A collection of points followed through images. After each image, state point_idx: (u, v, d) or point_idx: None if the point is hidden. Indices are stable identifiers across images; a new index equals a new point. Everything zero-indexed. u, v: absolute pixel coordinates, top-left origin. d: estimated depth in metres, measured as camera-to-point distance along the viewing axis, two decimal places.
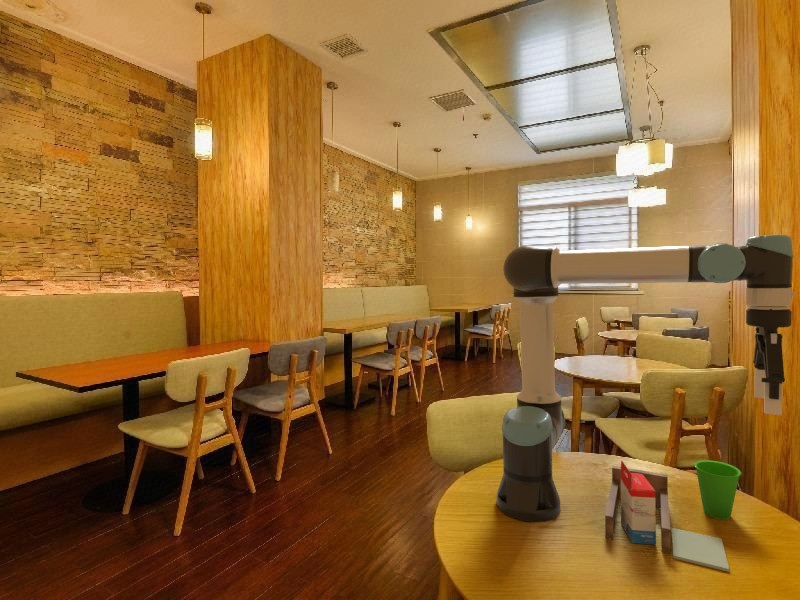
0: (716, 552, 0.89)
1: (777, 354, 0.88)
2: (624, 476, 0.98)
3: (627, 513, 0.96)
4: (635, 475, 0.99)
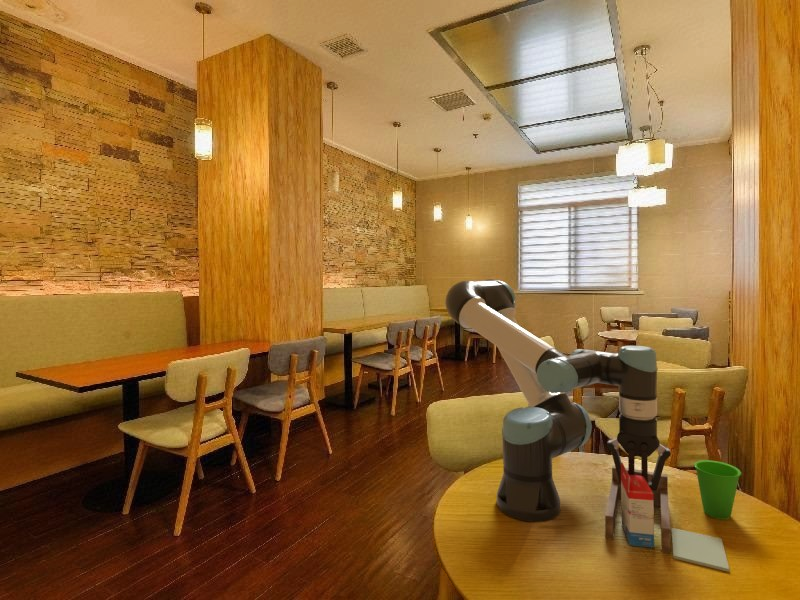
0: (716, 552, 0.89)
1: (614, 460, 1.02)
2: (623, 478, 0.97)
3: (625, 515, 0.95)
4: (635, 477, 0.98)
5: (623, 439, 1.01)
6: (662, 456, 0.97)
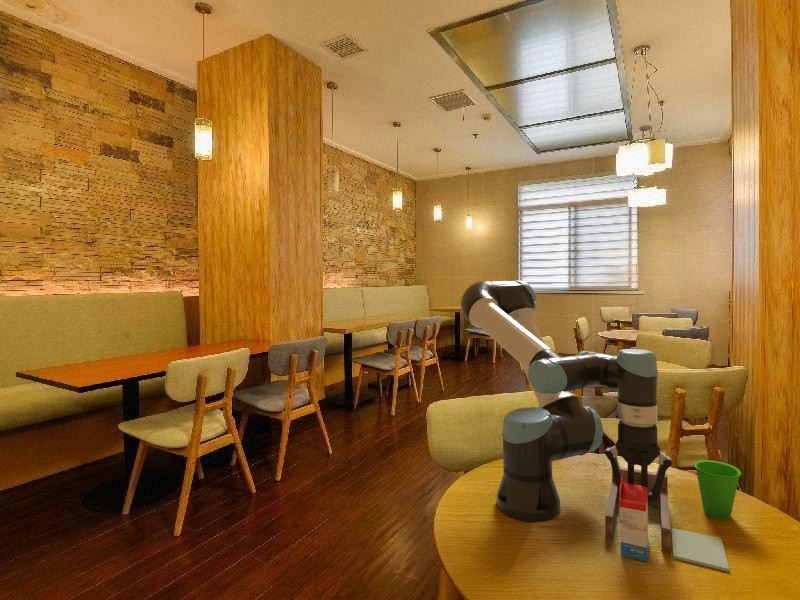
0: (716, 552, 0.89)
1: None
2: (621, 486, 0.93)
3: None
4: (636, 487, 0.93)
5: (622, 447, 0.96)
6: (663, 465, 0.92)
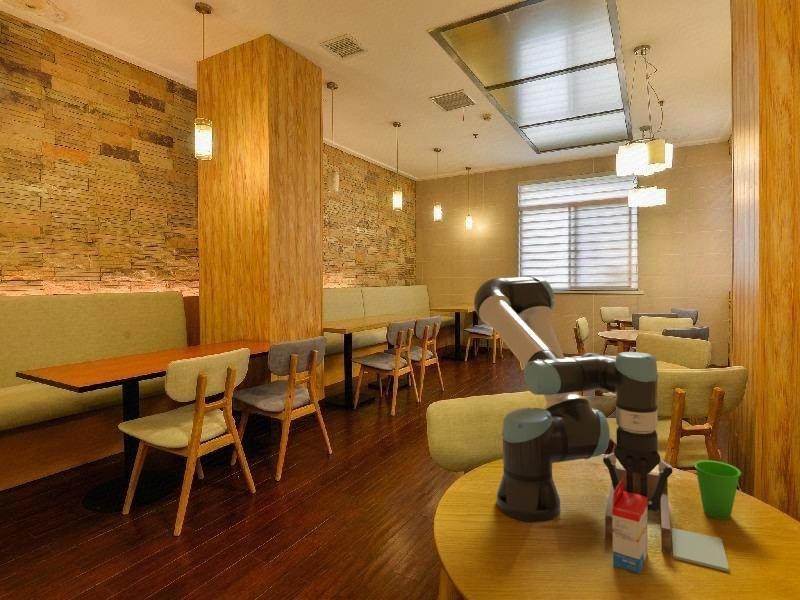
0: (716, 552, 0.89)
1: (611, 477, 0.94)
2: None
3: None
4: (635, 496, 0.90)
5: (621, 454, 0.92)
6: (663, 473, 0.89)
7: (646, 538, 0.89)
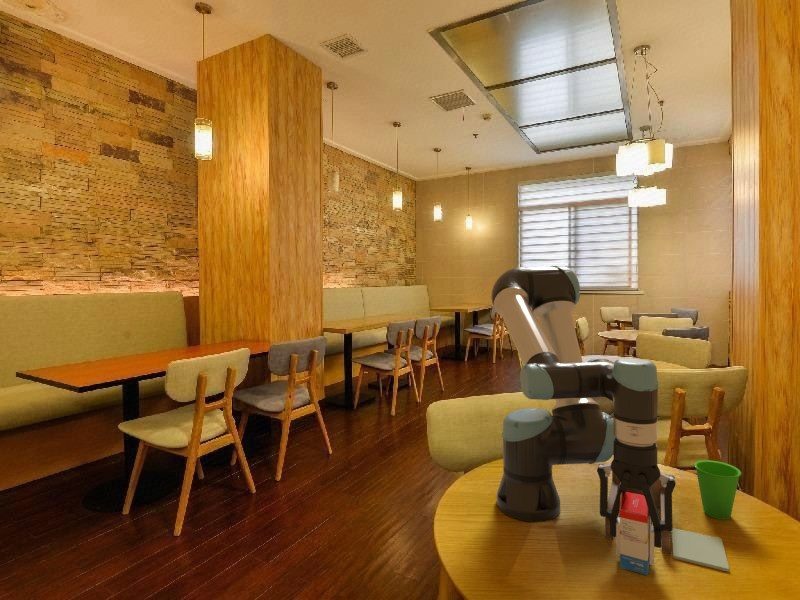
0: (716, 552, 0.89)
1: (600, 487, 0.89)
2: None
3: None
4: (639, 497, 0.89)
5: (618, 468, 0.86)
6: (667, 487, 0.82)
7: None
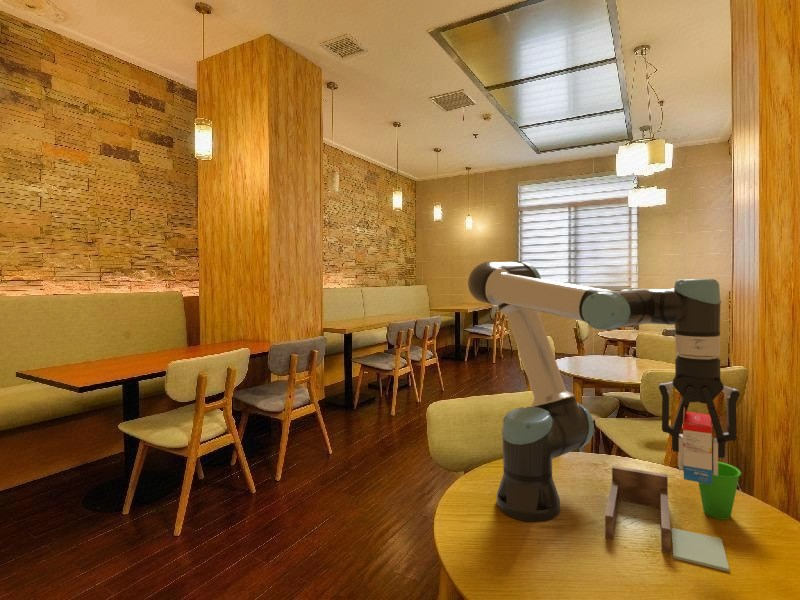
0: (716, 552, 0.89)
1: (662, 405, 0.92)
2: None
3: None
4: (699, 414, 0.92)
5: (680, 383, 0.89)
6: (731, 398, 0.85)
7: None
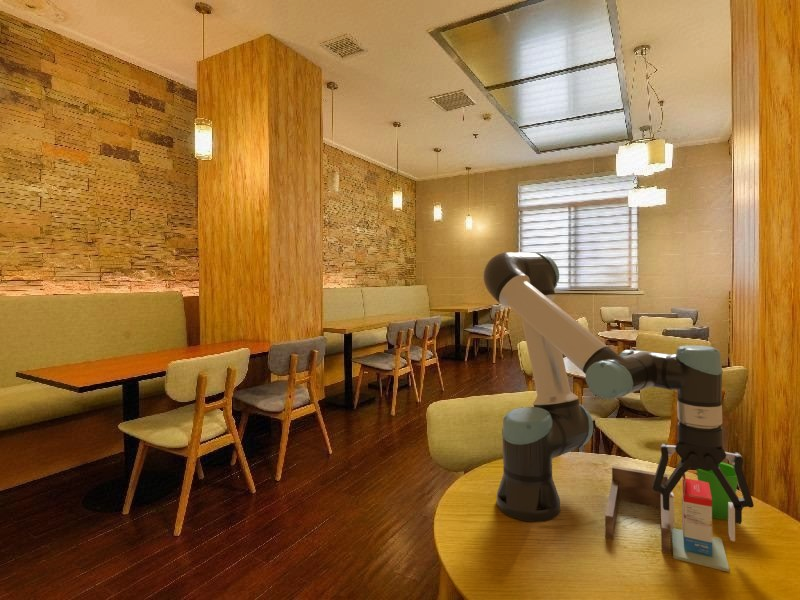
0: (716, 552, 0.89)
1: (659, 465, 0.93)
2: (683, 481, 0.93)
3: None
4: (698, 482, 0.93)
5: (683, 450, 0.90)
6: (736, 464, 0.86)
7: None
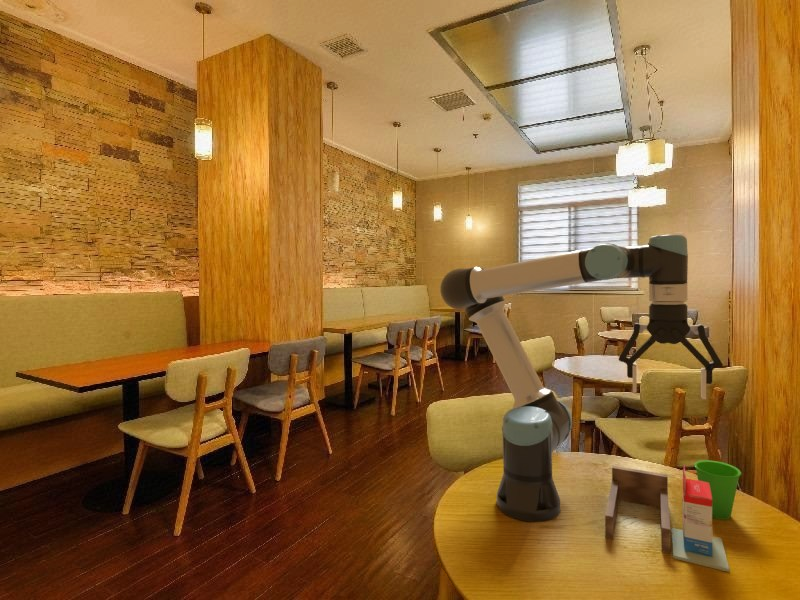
0: (716, 552, 0.89)
1: (629, 339, 1.05)
2: (683, 481, 0.93)
3: (683, 520, 0.92)
4: (698, 482, 0.93)
5: (653, 328, 1.02)
6: (699, 333, 0.97)
7: None
